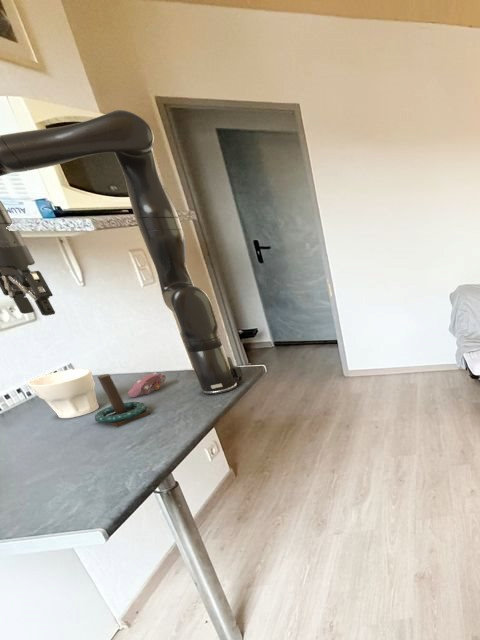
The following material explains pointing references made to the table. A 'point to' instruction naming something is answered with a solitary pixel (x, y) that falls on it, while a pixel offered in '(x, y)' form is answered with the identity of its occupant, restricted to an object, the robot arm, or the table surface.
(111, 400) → the post
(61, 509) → the table surface
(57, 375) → the cup
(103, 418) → the ring
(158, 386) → the pink oval lump
